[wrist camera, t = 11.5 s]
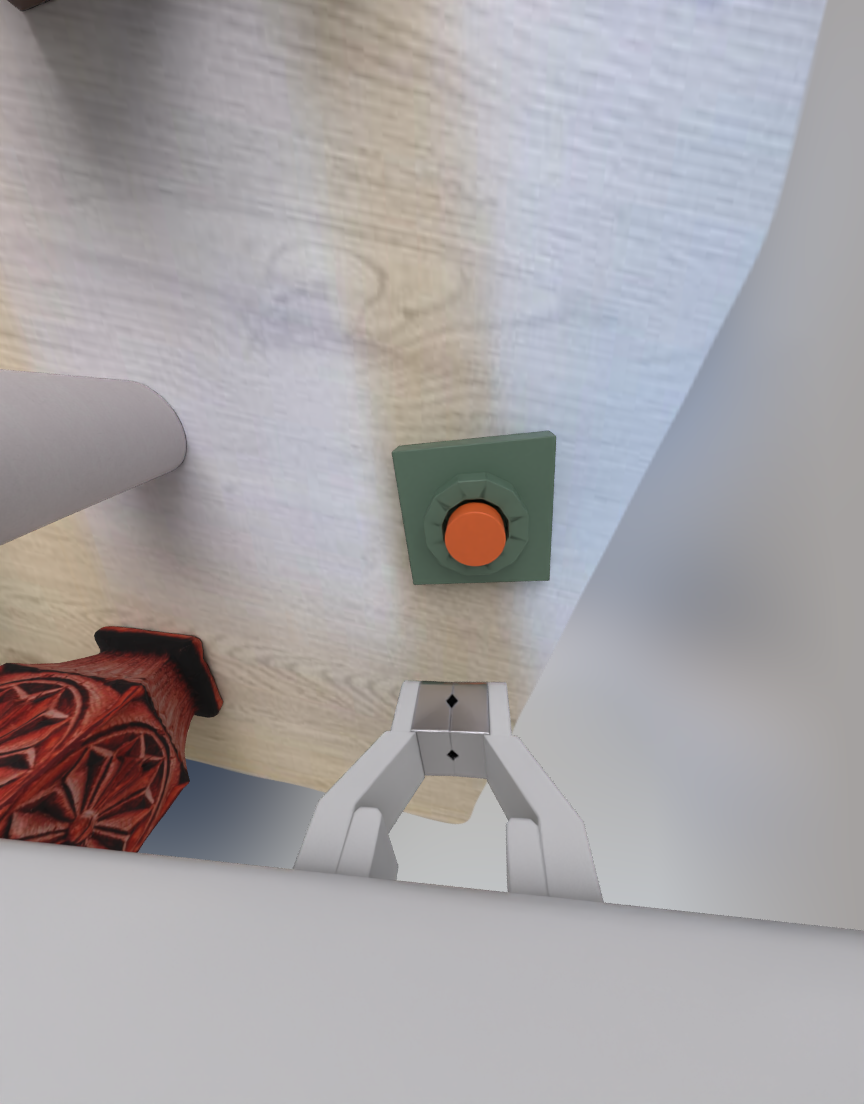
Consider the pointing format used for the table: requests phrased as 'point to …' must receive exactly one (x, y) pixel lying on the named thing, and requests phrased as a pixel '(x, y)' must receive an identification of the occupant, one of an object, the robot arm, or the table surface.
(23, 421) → the coffee cup
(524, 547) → the button block
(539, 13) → the table surface
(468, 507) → the button
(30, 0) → the window frame
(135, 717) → the vase
